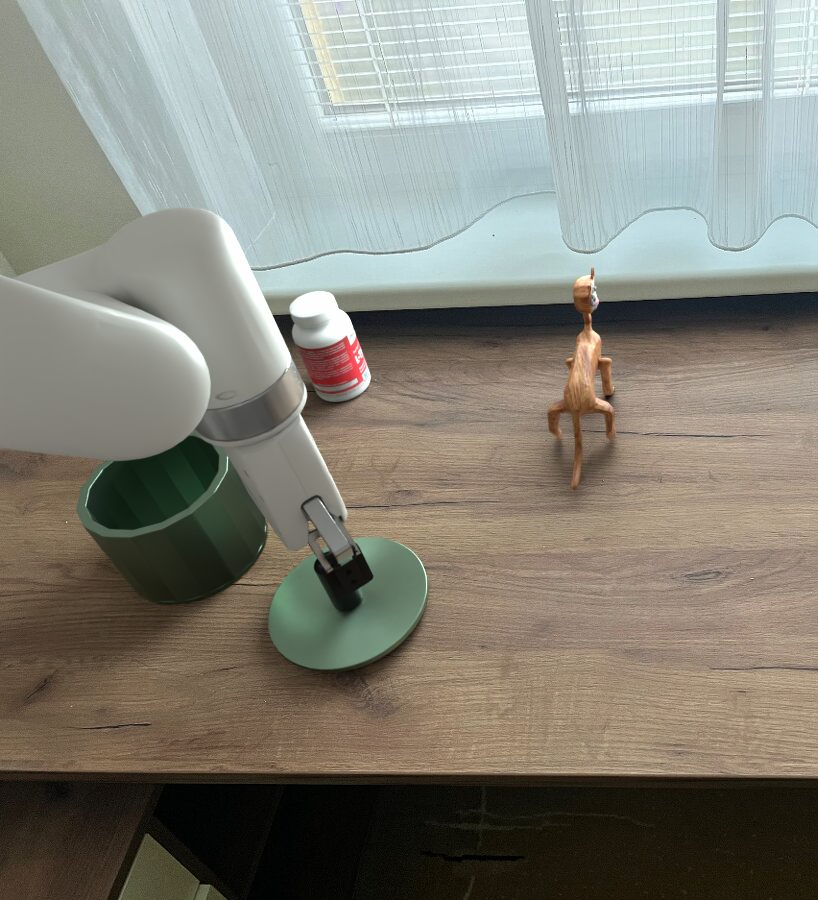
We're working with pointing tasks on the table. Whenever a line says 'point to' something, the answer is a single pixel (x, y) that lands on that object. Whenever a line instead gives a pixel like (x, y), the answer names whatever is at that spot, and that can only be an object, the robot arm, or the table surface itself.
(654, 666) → the table surface
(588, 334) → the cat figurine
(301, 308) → the pill bottle
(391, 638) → the tin lid
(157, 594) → the tin
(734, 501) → the table surface
